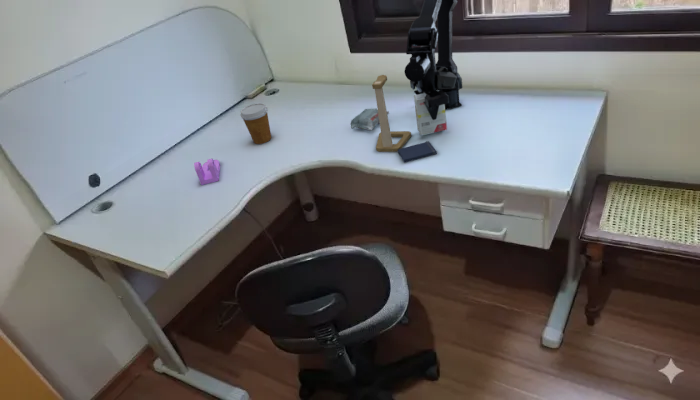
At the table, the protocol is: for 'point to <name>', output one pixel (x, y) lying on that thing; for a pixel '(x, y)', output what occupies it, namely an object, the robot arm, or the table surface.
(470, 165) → the table surface
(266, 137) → the disposable coffee cup
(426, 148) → the notepad
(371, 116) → the packaged food
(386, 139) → the headphone stand
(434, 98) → the robot arm
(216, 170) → the bracket
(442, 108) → the ink box
